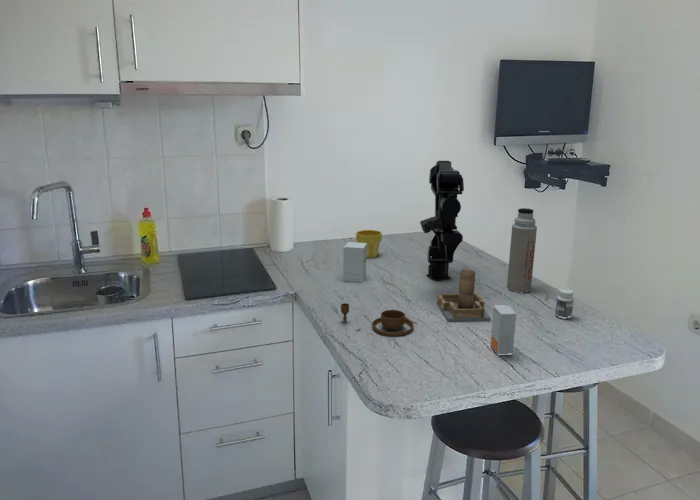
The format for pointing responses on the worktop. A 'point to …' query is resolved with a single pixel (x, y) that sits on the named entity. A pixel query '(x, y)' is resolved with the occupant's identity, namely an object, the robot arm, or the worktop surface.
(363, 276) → the supplement box
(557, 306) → the pill bottle
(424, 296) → the worktop surface
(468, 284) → the walnut peg
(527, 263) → the thermos bottle
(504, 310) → the skincare box
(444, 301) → the keyhole plate
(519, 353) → the worktop surface
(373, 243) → the plant pot
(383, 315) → the place setting
